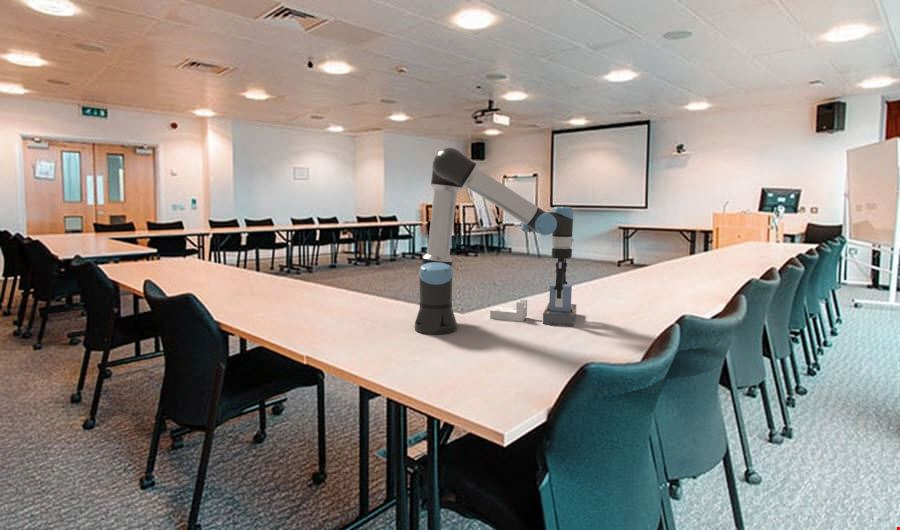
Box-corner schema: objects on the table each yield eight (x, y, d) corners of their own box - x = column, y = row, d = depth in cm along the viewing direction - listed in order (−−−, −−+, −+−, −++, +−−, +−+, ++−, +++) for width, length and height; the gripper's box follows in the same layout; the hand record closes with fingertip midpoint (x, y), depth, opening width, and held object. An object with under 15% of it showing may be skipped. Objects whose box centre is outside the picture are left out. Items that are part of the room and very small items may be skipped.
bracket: (526, 318, 212) (527, 299, 211) (522, 322, 205) (523, 302, 204) (495, 315, 217) (495, 297, 216) (490, 319, 210) (490, 300, 209)
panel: (548, 318, 207) (549, 285, 205) (549, 317, 210) (550, 284, 209) (570, 320, 205) (571, 286, 203) (570, 318, 208) (571, 285, 207)
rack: (542, 323, 202) (543, 312, 201) (548, 312, 222) (548, 302, 221) (573, 326, 198) (573, 314, 198) (576, 314, 219) (576, 303, 218)
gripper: (570, 250, 192) (567, 310, 194) (573, 245, 214) (572, 298, 217) (548, 250, 194) (547, 309, 197) (554, 244, 216) (553, 297, 219)
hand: (560, 303), depth 207 cm, fingers open, 11 cm apart
